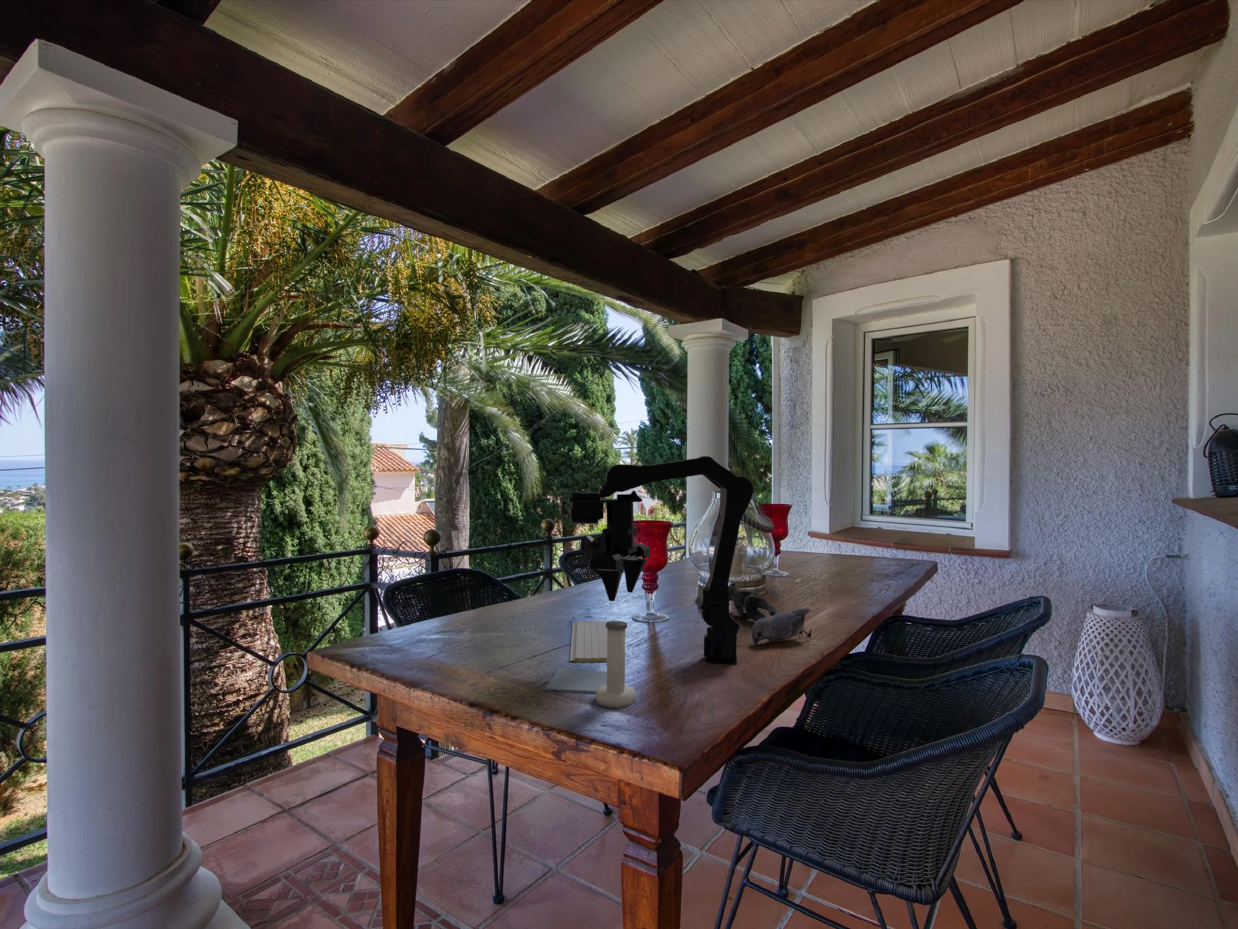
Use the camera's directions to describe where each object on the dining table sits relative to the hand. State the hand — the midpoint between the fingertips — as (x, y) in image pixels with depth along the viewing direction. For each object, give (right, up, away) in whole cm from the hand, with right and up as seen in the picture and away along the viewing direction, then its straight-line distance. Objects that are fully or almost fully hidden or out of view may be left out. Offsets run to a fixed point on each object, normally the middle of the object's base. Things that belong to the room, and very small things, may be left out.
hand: (621, 596), depth 140 cm
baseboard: (-8, -14, +13) cm, 21 cm away
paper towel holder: (-1, -14, -23) cm, 27 cm away
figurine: (+37, -14, +34) cm, 51 cm away
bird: (+38, -14, +15) cm, 43 cm away
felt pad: (-8, -14, -14) cm, 21 cm away
